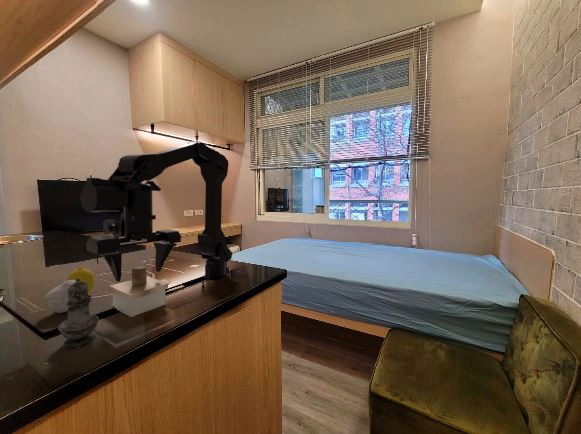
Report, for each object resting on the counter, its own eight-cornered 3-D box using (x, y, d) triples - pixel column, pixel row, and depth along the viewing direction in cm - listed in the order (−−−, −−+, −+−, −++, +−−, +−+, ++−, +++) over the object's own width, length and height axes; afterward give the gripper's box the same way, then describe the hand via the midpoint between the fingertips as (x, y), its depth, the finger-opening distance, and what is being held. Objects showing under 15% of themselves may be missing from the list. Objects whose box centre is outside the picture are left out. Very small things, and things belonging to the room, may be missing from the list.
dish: (147, 298, 68) (146, 281, 67) (165, 306, 63) (165, 288, 63) (112, 309, 61) (112, 290, 60) (130, 319, 57) (130, 299, 56)
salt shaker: (52, 353, 44) (49, 284, 43) (65, 335, 50) (63, 274, 48) (94, 346, 46) (92, 281, 45) (103, 330, 52) (101, 271, 51)
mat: (164, 280, 81) (164, 279, 81) (184, 287, 76) (184, 286, 76) (130, 289, 73) (130, 288, 73) (151, 298, 67) (151, 296, 67)
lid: (147, 280, 68) (147, 261, 67) (168, 288, 63) (168, 267, 63) (109, 290, 60) (108, 268, 60) (129, 300, 56) (128, 276, 55)
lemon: (79, 303, 63) (78, 271, 62) (61, 300, 64) (60, 269, 63) (100, 295, 68) (99, 265, 68) (83, 292, 70) (82, 263, 69)
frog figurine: (89, 310, 60) (88, 280, 59) (48, 321, 54) (47, 289, 54) (81, 302, 64) (80, 275, 63) (42, 312, 58) (40, 282, 57)
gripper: (157, 207, 72) (157, 262, 74) (74, 209, 56) (76, 279, 58) (182, 209, 66) (182, 269, 68) (97, 213, 50) (100, 290, 52)
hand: (139, 276), depth 61 cm, fingers open, 9 cm apart
